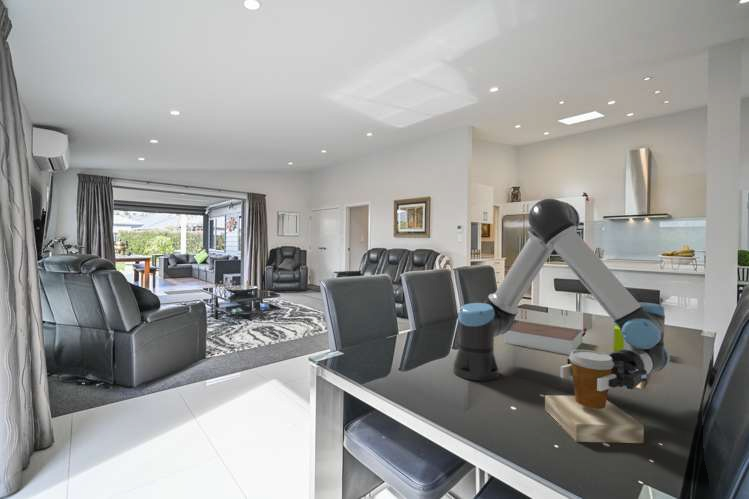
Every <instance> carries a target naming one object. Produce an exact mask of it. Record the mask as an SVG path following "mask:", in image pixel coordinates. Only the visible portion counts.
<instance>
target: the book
mask: <svg viewBox="0 0 749 499" xmlns="http://www.w3.org/2000/svg"><path fill="white" fill-rule="evenodd" d="M502 336H503V340H502V341H503V344H509V345H513V346H518V345H519V347H524V346H525V348H528V349H529V348H530V349H536V350H540V351H546V352H551V353H552V352H553V353H558V354H562V355H567V356H570V354H571V351H573V350H578V348H579V346H581V344H583V329H578V328H572V327H565V326H557V325H551V324H544V323H536V322H532V321H531V322H530V321H523V320H518V321H516V322H514V324H513V326H512V327H511V329H510V330H509V331H507V332H506V333H504V334H502Z"/></svg>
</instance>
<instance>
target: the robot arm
mask: <svg viewBox="0 0 749 499" xmlns="http://www.w3.org/2000/svg"><path fill="white" fill-rule="evenodd" d="M527 220H528V224H529V226H530V227H529V228H528V230H527V234H528V239H527V241H525V244H524V245H523V248H522V249H521V250H520V252H519V254H518V255H517V257H516V259H515V260H514V262H513V263H512V264H511V267H510V268H509V270H508V271H507V273H506V274H505V276H504V278H503V280H502V281H501V283H500V285H499V286H498V288H497V289H496V291H495V292H493V293H490V294H488V295H487V297H486V299H485V301H484V302H473V303H470V302H469V303H467V304H466V303H465V304H463V305H462V306H460V308H459V310H458V311H459V312H458V313H459V314H458V350H457V352H456V356H455V359H454V361H453V364H452V365H453V368H452V369H453V370H452V371H453V373H454V374H455V375H457V376H458V377H461V378H462V379H466V380H470V381H477V382H478V381H479V382H487V381H494V380H496V379H498V378H499V374H500V373H499V371H500V370H499V369H500V368H499V366H498V363H497V359H496V356H495V352H494V348H495V347H494V345H495V344H494V342H495V340H494V339H495V338H496V337H498V336H500V335H504V333H506V332H507V331H509V330H510V329H511V327H512V326H513V324H514V323H515V319H516V316H517V315H518V313H519V309H518V305H519V303H520V302H521V301H522V299H523V298H524V296H525V294H526V293H527V291H528V290H529V288H530V286H532V283H533V282H534V281H535V279H536V277H537V276H538V275H539V272H540V271H541V270H542V268H543V267H544V265H545V263H546V262H547V260H548V258H550V256H551V255H552V253H553V251H555V252H556V254H557V255H558V256H559V257H560V258H561V259H562V261H563V262H564V263H565V265H567V267H569V269H570V270H571V271H572V273H573V274H574V275H575V276H576V277H577V279H578V280H579V281H580V283H582V285H583V286H584V287H585V288H586V289H587V291H588V292H589V293H590V294H591V296H592V297H593V298H594V299H595V300H596V301H597V303H598V304H599V305H600V307H601V308H603V310H604V311H605V312H606V313H607V315H608V316H609V317H610V318H611V320H612V321H613V322H614V324H616V325H617V326H618V327H619V328H620V329H621V331H622V335H623V338H624V340H625V341H626V342H627V343H628V344H629V345H631V347H630V348H627V349H623V350H619V351H615V352H614V351H613V352H611V353H610V354H608V355H609V356H611V357H612V361H613V362H614V366H613V368H612V370H611V375H607V376H604V377H601V378H598V379H597V391H600V392H601V391H603V390H606V389H608V390H609V389H613V388H617V387H618V388H624V387H626V388H627V389H628V390H634V389H635V388H636V387H637V386H639V385H640V384H641V383H642V382H647V378H648V377H647V376H648V375H649V374H652V373H655V372H659V371H662V370H663V369H665V368H666V367H667V366H668V365H669V364H670V362H671V361H670V360H671V356H670V353H669V352H668V349H666V348H665V342H664V341H665V340H664V339H665V319H666V316H665V307H664V306H663V305H662V304H658V303H653V302H640V301H639V302H638V300H637V299H636V298H635V297H634V296H633V295H632V293H630V291H629V290H628V289H627V288H626V287H625V285H624V284H622V282H621V281H620V280H619V279H618V278H617V277H616V276H615V274H614V273H613V272H612V271H611V270H610V269H609V268H608V266H606V264H605V263H604V262H603V261H602V260H601V258H600V257H599V256H598V255H597V254H596V252H594V250H593V249H592V248H591V247H590V246H589V245H588V244H587V243H586V242H585V240H584V239H583V238H582V237H581V236H580V235H579V233H577V230H578V227H579V226H580V222H581V220H580V215H579V213H578V210H577V209H576V208H575V207H574V206H573V205H572V204H569V203H568V202H566V201H563V200H558V199H555V198H544V199H542V200H540V201H538V202H536V203H535V204H534V205H532V207H531V209H530V210H529V212H528V219H527ZM559 368H560V369H559V370H560V371H559V374H560V375H559V377H560V378H562V379H565V378H568V377H573V375H572V366H571V361H570V359H569V358H567V364H565V365H562V366H560V367H559Z"/></svg>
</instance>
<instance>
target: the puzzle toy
mask: <svg viewBox="0 0 749 499" xmlns="http://www.w3.org/2000/svg"><path fill="white" fill-rule="evenodd" d="M614 324H615V325H614V329H613V352H615V351H619V350H623V349H627V348H630V347H631V345H629V344H628V343H627V342H626V341H625V340H624V338H623V335H622V331H621V329H620V328H619V327H618V326H617V325H616V323H614Z"/></svg>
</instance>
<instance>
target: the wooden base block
mask: <svg viewBox="0 0 749 499" xmlns="http://www.w3.org/2000/svg"><path fill="white" fill-rule="evenodd" d="M544 411H546V413H547V414H548V413H549V414H550V415H551V416H552V417H553V418H554V419H555V420H556V421H557V422H558V423H559V424H558V423H557V422H556V421H555V420H554V419H553V420H554V421H555V422H556V423H557V424H558V425H559V426H560V425H561V426H562V427H561V426H560V427H561V428H562V429H563V430H564V431H565V432H566V433H567V434H568V435H569V436H570V438H572V440H574V441H575V442H577V443H614V444H615V443H616V444H617V443H622V444H623V443H627V444H628V443H629V444H644V435H645V433H644V432H645V431H644V430H645V425H644V424H642V423H640V422H639V421H638V420H637V419H635V418H634V417H632V416H631V415H629V414H628V413H626V412H625V411H624V410H622V409H621V408H619V407H617V406H616V405H615V404H614V403H612V402H610V401H609V400H606V406H605V408H602V409H593V408H588V407H585V406H582V405H580V404H579V403H577V402H576V399H575V395H549V394H547V395H544ZM550 415H549V416H550ZM551 416H550V417H551ZM552 417H551V418H552Z"/></svg>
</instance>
